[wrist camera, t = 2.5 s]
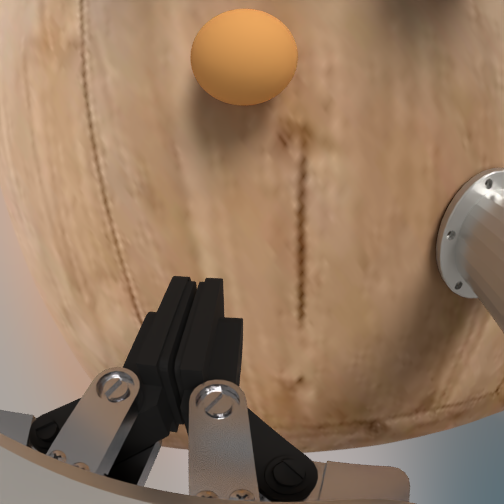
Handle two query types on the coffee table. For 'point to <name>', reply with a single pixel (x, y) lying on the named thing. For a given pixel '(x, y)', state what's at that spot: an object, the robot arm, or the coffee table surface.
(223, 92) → the ball
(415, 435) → the coffee table surface
